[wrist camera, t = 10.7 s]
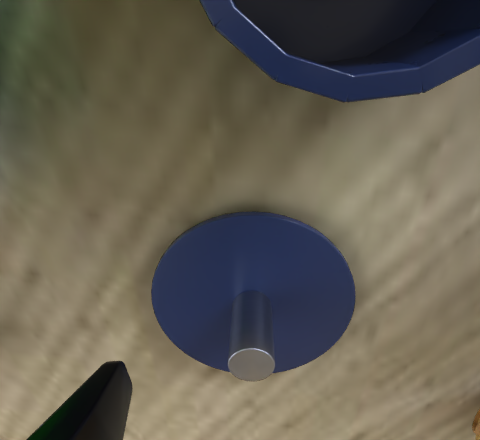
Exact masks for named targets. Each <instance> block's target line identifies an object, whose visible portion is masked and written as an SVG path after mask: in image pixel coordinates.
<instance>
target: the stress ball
mask: <svg viewBox="0 0 480 440" xmlns="http://www.w3.org/2000/svg"><path fill="white" fill-rule="evenodd" d="M472 429H473V432H474V433H475V434H476V440H480V409H479V411H478V412H477V414H476V416H475V419H474V422H473V425H472Z"/></svg>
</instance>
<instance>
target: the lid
mask: <svg viewBox="0 0 480 440" xmlns="http://www.w3.org/2000/svg"><path fill="white" fill-rule="evenodd" d="M151 293H152V304H153V309H154V313H155V315H156V318H157V320H158V323H159V324H160V326H161V328H162V330H163V331H164V332H165V334H166V335H167V336H168V338H169V339H170V340H171V341H172V342H173V343H174V344H175V345H176V346H177V347H178V348H179V349H181V350H182V351H183V352H184V353H186V354H187V355H189V356H190V357H192V358H194V359H195V360H197V361H199V362H201V363H203V364H205V365H208V366H211V367H213V368H216V369H220V370H224V371H227V372H231V373H232V374H233V375H234V376H235V377H237V378H239V379H241V380H245V381H259V380H263V379H265V378H267V377H268V376H270V375H271V374H272V373H277V372H283V371H287V370H290V369H294V368H297V367H299V366H302V365H304V364H307V363H308V362H310V361H312V360H314V359H316V358H318V357H319V356H321V355H322V354H324V353H325V352H326V351H327V350H329V349H330V348H331V347H332V346H333V345H334V344H335V343H336V342H337V341H338V340H339V339H340V337H341V336H342V334H343V333H344V332H345V330H346V329H347V326H348V324H349V322H350V320H351V317H352V314H353V311H354V305H355V286H354V281H353V277H352V274H351V272H350V269H349V267H348V264H347V262H346V260H345V259H344V257H343V256H342V254H341V252H340V251H339V250H338V249H337V248H336V246H335V245H334V244H333V243H332V242H331V241H330V240H329V239H328V238H326V237H325V236H324V235H323V234H322V233H320V232H319V231H317V230H316V229H314V228H312V227H311V226H309V225H307V224H305V223H303V222H301V221H298V220H296V219H293V218H290V217H287V216H283V215H278V214H273V213H267V212H237V213H230V214H225V215H221V216H218V217H214V218H211V219H208V220H206V221H204V222H201V223H199V224H197V225H195V226H194V227H192V228H190V229H189V230H187V231H186V232H184V233H183V234H182V235H181V236H179V237H178V238H177V239H176V240H175V241H174V242H173V243H172V244H171V245H170V246H169V247H168V249H167V250H166V252H165V253H164V254H163V256H162V258H161V260H160V262H159V264H158V266H157V268H156V271H155V274H154V278H153V281H152V290H151Z"/></svg>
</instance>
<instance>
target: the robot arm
mask: <svg viewBox="0 0 480 440" xmlns="http://www.w3.org/2000/svg"><path fill="white" fill-rule="evenodd" d="M131 395H132V382H131V380H130V377H129V374H128V372H127V369H126V367H125V364H124V363H123V362H122V361H109V362H106V363H104V364H103V365H102V366H101V367H100V368H99V369H98V370H97V371H96V372H95V373H94V374H93V375H92V376H91V377H90V378H89V379H88V380H87V381H86V382H84V383H83V384H82V385H81V386H80V387H79V388H78V389H77V390H76V391H75V392H74V393H73V394H72V395H71V396H70V397H69V398H68V399H67V400H66V401H65V402H64V403H63V404H62V405H61V406H60V407H59V408H58V409H57V410H56V411H55V412H54V413H53V414H52V415H51V416H50V417H49V418H48V419H47V420H46V421H45V422H44V423H43V424H42V425H41V426H40V427H39V428H38V429H37V430H36V431H35V432H34V433H33V434H32V435H31V436H30V437H29V438H28V439H27V440H123V436H124V431H125V426H126V421H127V416H128V411H129V406H130V400H131Z"/></svg>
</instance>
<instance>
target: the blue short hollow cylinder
mask: <svg viewBox="0 0 480 440" xmlns="http://www.w3.org/2000/svg"><path fill="white" fill-rule="evenodd" d="M199 1H200V3H201V4H202V6H203V8H204V10H205V12H206V14H207V16H208V18H209V20H210V22H211V24H212V25H213V26H214V27H215V29H216V30H217V31H218V32H219V33H220V34H221V35H222V36H224V37H225V38H226V39H227V40H228V41H229V42H230V43H232V44H233V45H234V46H235V47H236V48H237V49H238V50H240V51H241V52H242V53H243V54H244V55H245V56H246V57H248V58H249V59H250V60H251V61H252V62H253V63H254V64H256V65H257V66H258V67H259V68H260V69H261V70H262V71H264V72H265V73H266V74H267V75H268V76H269V77H270V78H272V79H273V80H275V81H276V82H279V83H282V84H285V85H289V86H292V87H295V88H298V89H302V90H305V91H308V92H312V93H315V94H318V95H321V96H325V97H328V98H331V99H334V100H338V101H341V102H355V101H363V100H372V99H381V98H389V97H398V96H406V95H415V94H420V93H425V92H427V91H429V90H431V89H433V88H435V87H437V86H438V85H440V84H442V83H444V82H446V81H448V80H450V79H452V78H454V77H456V76H458V75H460V74H462V73H464V72H466V71H468V70H470V69H472V68H474V67H476V66H478V65H480V0H199Z"/></svg>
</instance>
